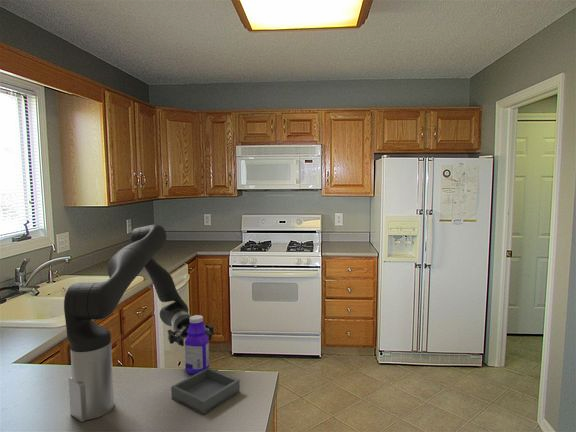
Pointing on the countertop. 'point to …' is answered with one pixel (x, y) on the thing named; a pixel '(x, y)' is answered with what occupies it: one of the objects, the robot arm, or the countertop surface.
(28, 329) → the countertop surface
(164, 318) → the robot arm
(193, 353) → the bottle
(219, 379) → the tray
